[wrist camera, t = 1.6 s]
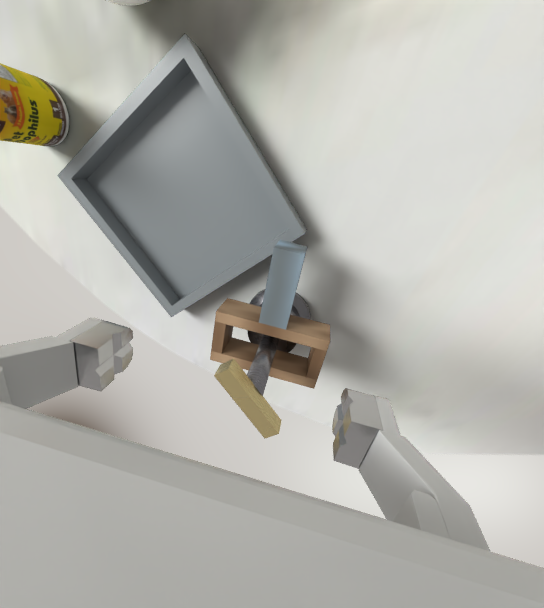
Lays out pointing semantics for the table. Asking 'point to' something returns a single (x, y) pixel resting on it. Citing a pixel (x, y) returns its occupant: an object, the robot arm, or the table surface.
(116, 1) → the lidded jar
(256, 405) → the plunger
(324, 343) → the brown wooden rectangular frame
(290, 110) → the table surface
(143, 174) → the tray
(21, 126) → the supplement bottle
